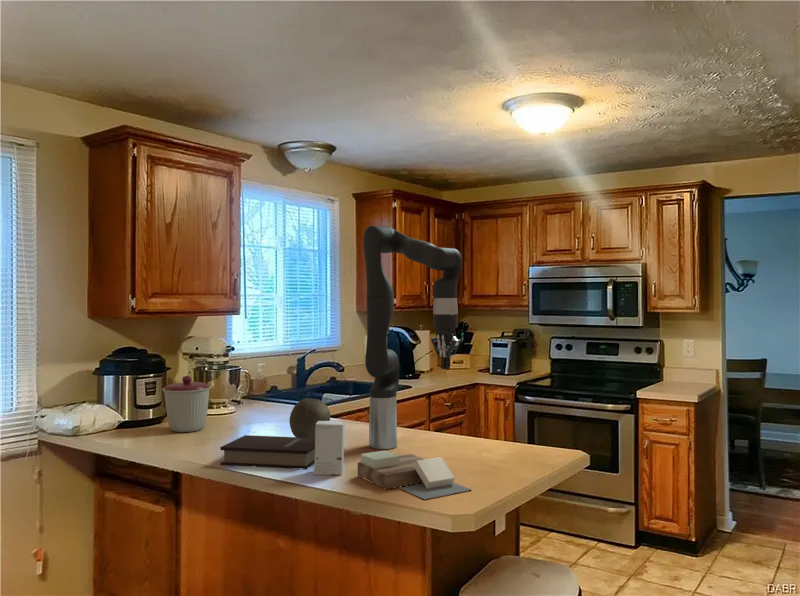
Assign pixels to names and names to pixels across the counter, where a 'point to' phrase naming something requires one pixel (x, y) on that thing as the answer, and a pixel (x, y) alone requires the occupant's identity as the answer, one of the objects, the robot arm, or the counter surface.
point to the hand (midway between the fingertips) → (445, 369)
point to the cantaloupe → (308, 417)
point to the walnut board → (393, 473)
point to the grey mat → (434, 490)
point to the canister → (187, 405)
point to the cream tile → (434, 472)
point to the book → (270, 452)
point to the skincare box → (329, 448)
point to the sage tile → (379, 459)
